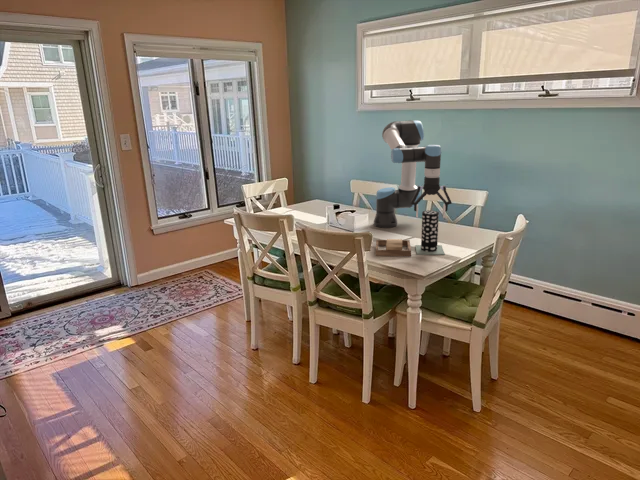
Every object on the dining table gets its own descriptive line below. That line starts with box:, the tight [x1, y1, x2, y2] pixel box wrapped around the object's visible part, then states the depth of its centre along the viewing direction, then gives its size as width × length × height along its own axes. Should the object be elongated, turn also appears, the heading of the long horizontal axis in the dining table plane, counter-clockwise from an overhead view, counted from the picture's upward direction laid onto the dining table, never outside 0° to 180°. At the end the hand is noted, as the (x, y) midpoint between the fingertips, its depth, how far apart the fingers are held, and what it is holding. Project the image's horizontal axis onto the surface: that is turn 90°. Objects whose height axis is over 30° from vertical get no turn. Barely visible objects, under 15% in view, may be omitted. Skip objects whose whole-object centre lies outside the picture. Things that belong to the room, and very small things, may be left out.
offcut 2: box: [385, 244, 403, 250], centre depth 231 cm, size 5×8×2 cm, turn 87°
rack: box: [375, 239, 412, 257], centre depth 236 cm, size 18×18×3 cm
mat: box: [414, 244, 446, 256], centre depth 234 cm, size 14×14×1 cm
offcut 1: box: [386, 238, 403, 248], centre depth 230 cm, size 5×8×2 cm, turn 81°
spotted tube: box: [420, 210, 440, 252], centre depth 231 cm, size 8×8×20 cm
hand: (430, 217), depth 229 cm, fingers open, 13 cm apart
